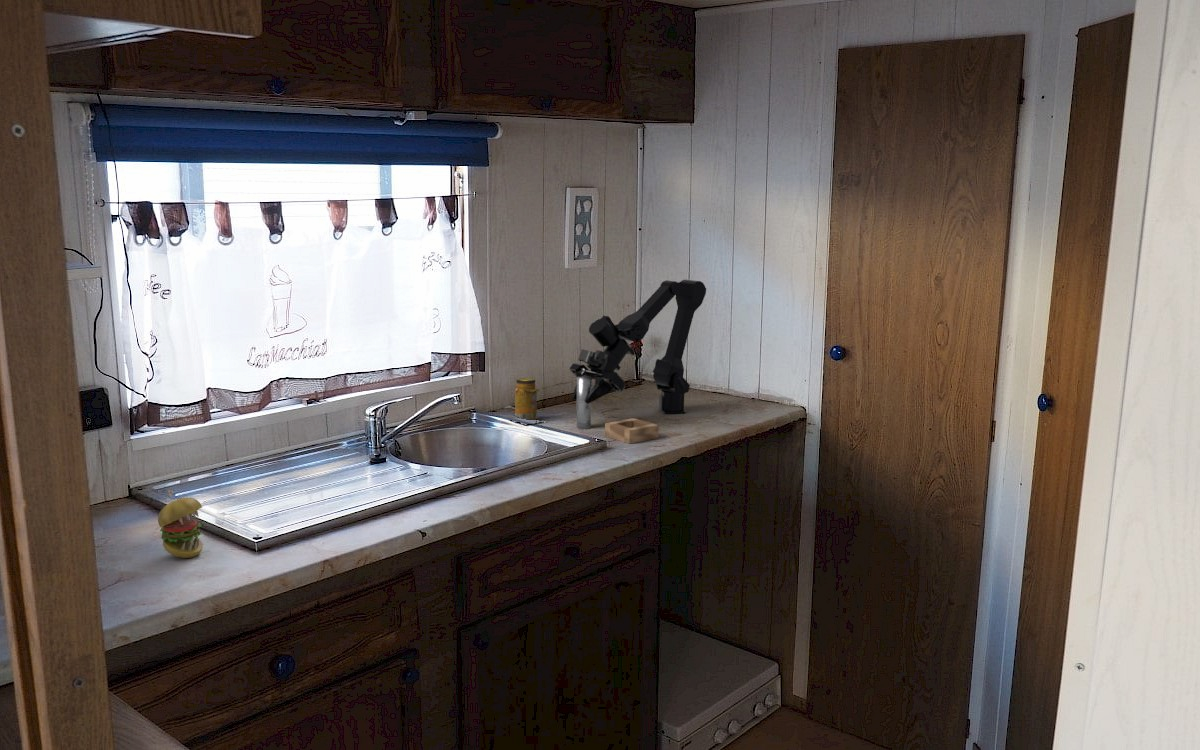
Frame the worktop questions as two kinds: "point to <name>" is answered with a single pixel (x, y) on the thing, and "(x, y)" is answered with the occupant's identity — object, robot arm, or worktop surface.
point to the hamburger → (181, 527)
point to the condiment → (526, 399)
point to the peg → (583, 402)
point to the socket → (631, 430)
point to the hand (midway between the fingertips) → (579, 401)
